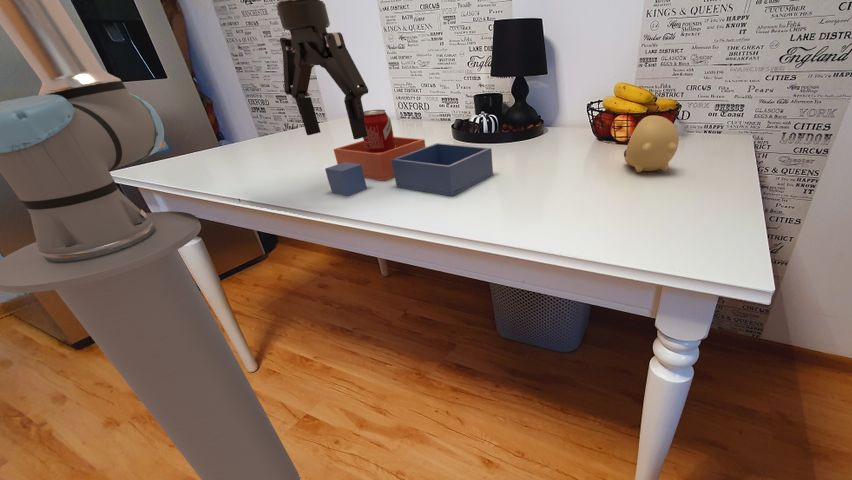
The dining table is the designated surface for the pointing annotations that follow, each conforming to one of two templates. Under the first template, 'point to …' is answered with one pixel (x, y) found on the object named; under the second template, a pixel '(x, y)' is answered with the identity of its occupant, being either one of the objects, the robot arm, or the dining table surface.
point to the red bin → (377, 156)
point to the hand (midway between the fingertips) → (336, 135)
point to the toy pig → (652, 144)
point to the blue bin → (443, 168)
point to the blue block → (346, 178)
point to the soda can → (378, 132)
